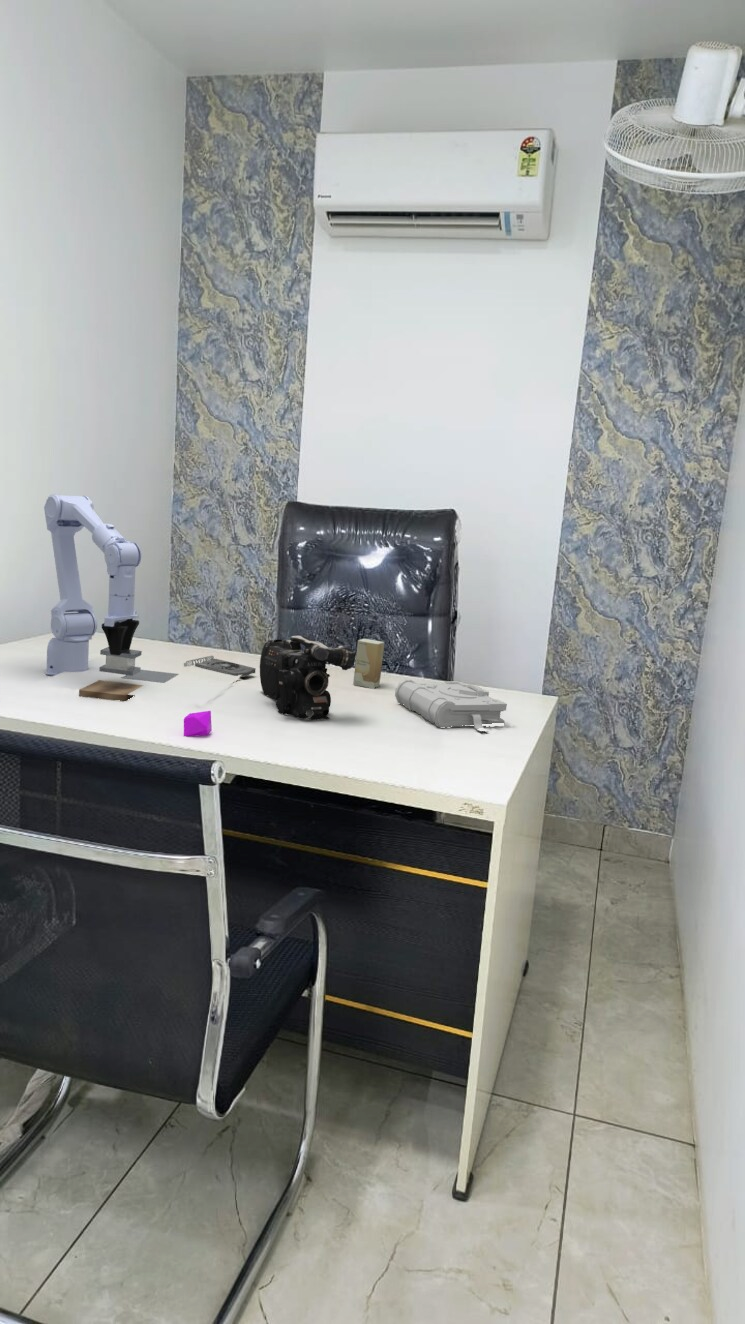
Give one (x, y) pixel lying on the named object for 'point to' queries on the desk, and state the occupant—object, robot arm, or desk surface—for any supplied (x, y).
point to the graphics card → (222, 666)
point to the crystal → (197, 724)
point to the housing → (121, 662)
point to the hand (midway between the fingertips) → (119, 652)
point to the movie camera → (300, 675)
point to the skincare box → (368, 663)
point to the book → (450, 703)
